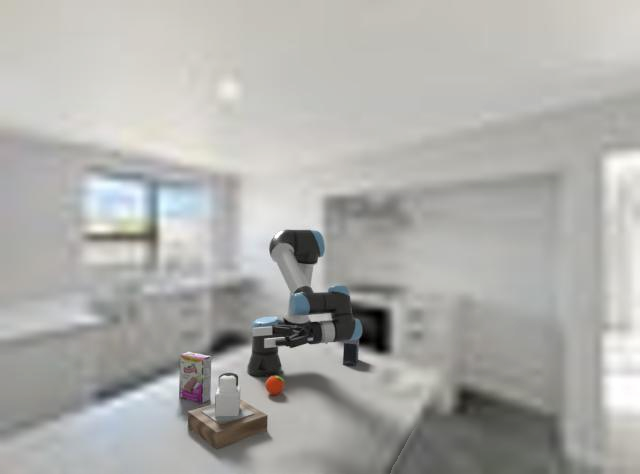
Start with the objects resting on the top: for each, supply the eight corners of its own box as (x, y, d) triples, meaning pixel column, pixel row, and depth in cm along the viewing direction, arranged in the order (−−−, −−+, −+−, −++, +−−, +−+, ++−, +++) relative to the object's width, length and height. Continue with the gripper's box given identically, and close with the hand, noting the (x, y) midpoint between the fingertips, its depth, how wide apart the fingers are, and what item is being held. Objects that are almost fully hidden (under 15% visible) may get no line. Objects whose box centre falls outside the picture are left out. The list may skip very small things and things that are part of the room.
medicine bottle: (217, 407, 142) (218, 370, 141) (240, 407, 142) (240, 370, 142) (214, 417, 134) (215, 378, 134) (238, 416, 135) (239, 378, 135)
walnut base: (187, 426, 139) (188, 410, 139) (236, 411, 151) (236, 396, 151) (216, 449, 126) (216, 431, 126) (267, 430, 138) (267, 414, 138)
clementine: (288, 392, 170) (289, 374, 169) (281, 399, 163) (281, 380, 163) (270, 389, 172) (270, 371, 172) (262, 395, 166) (262, 377, 166)
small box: (356, 366, 204) (357, 344, 204) (342, 364, 205) (343, 342, 205) (358, 359, 214) (359, 338, 214) (345, 358, 216) (346, 337, 215)
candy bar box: (178, 398, 161) (178, 354, 161) (187, 393, 166) (188, 350, 165) (202, 404, 156) (203, 359, 156) (211, 399, 161) (212, 355, 160)
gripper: (334, 354, 138) (269, 361, 130) (305, 333, 161) (249, 338, 153) (334, 330, 138) (270, 336, 129) (306, 313, 161) (249, 317, 152)
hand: (258, 337), depth 141 cm, fingers open, 13 cm apart
